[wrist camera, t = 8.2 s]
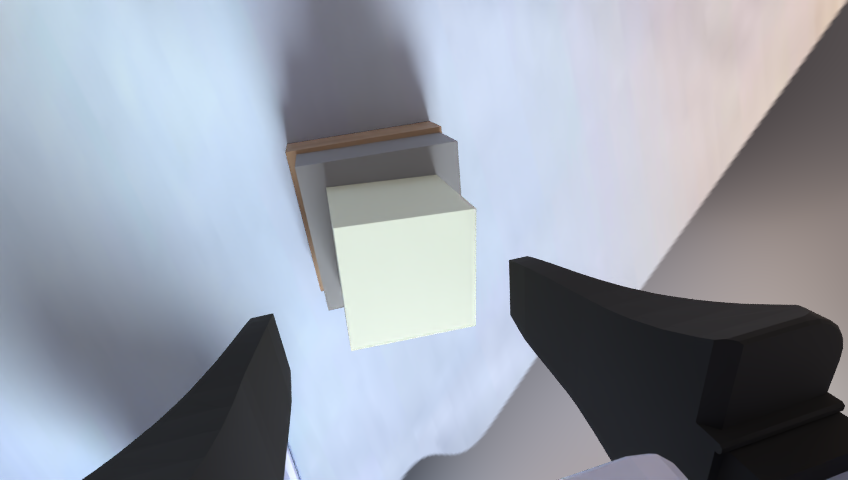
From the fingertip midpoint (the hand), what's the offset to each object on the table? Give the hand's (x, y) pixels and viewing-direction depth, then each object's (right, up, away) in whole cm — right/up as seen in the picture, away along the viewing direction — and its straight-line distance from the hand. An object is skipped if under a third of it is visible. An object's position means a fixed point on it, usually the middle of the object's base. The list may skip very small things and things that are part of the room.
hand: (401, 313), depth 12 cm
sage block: (-1, +3, +5) cm, 6 cm away
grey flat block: (-1, +4, +7) cm, 8 cm away
